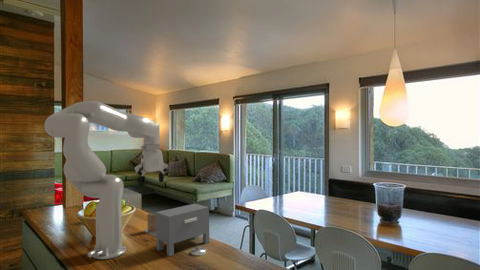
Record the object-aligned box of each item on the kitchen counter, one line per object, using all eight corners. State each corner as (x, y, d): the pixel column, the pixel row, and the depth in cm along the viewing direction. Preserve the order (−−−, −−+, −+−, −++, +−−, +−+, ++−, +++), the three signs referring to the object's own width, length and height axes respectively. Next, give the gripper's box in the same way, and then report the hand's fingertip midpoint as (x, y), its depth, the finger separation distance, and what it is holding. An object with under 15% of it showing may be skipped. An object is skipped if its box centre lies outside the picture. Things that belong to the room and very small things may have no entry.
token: (202, 257, 117) (202, 253, 116) (188, 255, 118) (188, 252, 118) (208, 251, 122) (208, 247, 122) (194, 250, 124) (194, 246, 124)
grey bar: (168, 243, 131) (168, 223, 131) (143, 231, 148) (143, 213, 148) (178, 240, 135) (177, 221, 135) (152, 229, 151) (152, 211, 151)
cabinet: (170, 256, 116) (169, 217, 116) (156, 249, 124) (155, 212, 124) (210, 242, 131) (210, 207, 130) (195, 237, 138) (195, 203, 138)
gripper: (138, 149, 137) (139, 186, 137) (171, 147, 149) (171, 181, 149) (131, 148, 142) (131, 184, 142) (163, 147, 154) (163, 180, 154)
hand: (152, 183), depth 146 cm, fingers open, 9 cm apart
